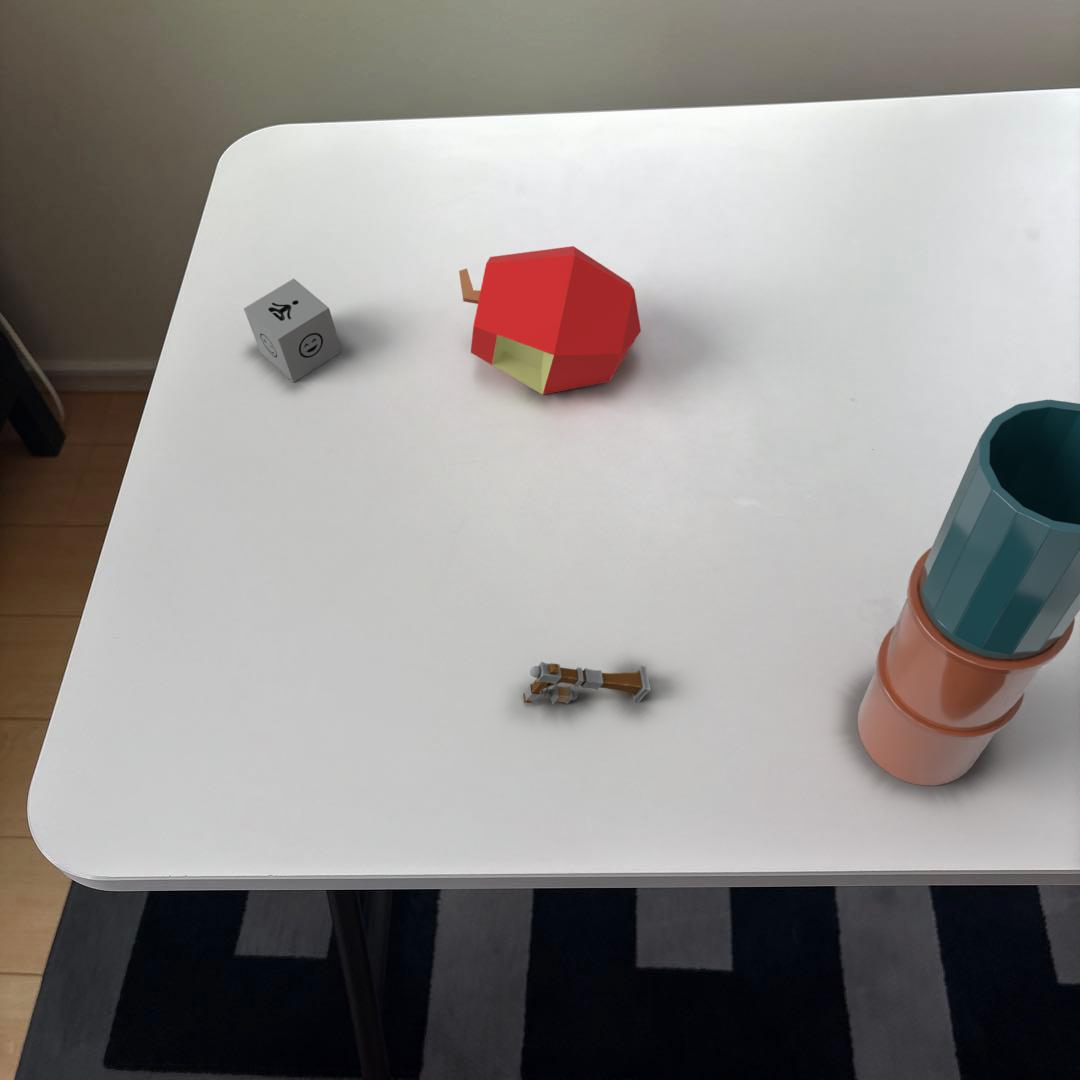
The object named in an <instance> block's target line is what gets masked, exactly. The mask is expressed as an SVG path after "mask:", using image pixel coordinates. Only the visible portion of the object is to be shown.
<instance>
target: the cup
mask: <svg viewBox="0 0 1080 1080" xmlns="http://www.w3.org/2000/svg"><path fill="white" fill-rule="evenodd" d="M931 547H932V548H931ZM931 547H930V548H931V551H930V553H929V555H928V557H927V560H926V562H925V564H924V567H923V572H922V575H921V580H920V594H921V600H922V603H923V606H924V608H925V610H926V612H927V614H928V616H929V618H930V619H931V621H932V622H933V624H934V625H935V626H936V627H937V628H938V629H939V630H940V631H941V632H942V633H943V634H944V635H945V636H946V637H947V638H949V639H950V640H951V641H953V642H954V643H955V644H957V645H959V646H961V647H962V648H964V649H966V650H968V651H971V652H973V653H976V654H979V655H982V656H985V657H990V658H996V659H1022V658H1026V657H1030V656H1033V655H1036V654H1039V653H1041V652H1043V651H1044V650H1046V649H1048V648H1049V647H1050V646H1052V645H1053V644H1054V643H1055V642H1056V641H1057V640H1058V639H1059V638H1060V637H1061V636H1062V635H1063V633H1064V632H1065V631H1066V629H1067V628H1068V626H1069V625H1070V624H1071V622H1072V621H1073V619H1074V618H1075V619H1076V617H1077V616H1078V614H1079V613H1080V403H1078V402H1071V401H1064V400H1057V399H1042V400H1041V399H1040V400H1035V401H1029V402H1022V403H1018V404H1015V405H1013V406H1011V407H1010V408H1008V409H1006V410H1005V411H1002V412H1001V413H999V414H997V415H995V416H994V417H993V418H991V420H990V422H989V423H988V424H987V426H986V428H985V429H984V431H983V432H982V434H981V435H980V437H979V438H978V441H977V443H976V446H975V448H974V450H973V453H972V455H971V458H970V459H969V462H968V464H967V466H966V468H965V471H964V473H963V476H962V478H961V480H960V482H959V484H958V487H957V488H956V492H955V494H954V496H953V498H952V500H951V503H950V505H949V507H948V509H947V512H946V514H945V517H944V518H943V521H942V523H941V526H940V528H939V530H938V532H937V535H936V537H935V540H934V542H933V544H932V546H931Z"/></svg>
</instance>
